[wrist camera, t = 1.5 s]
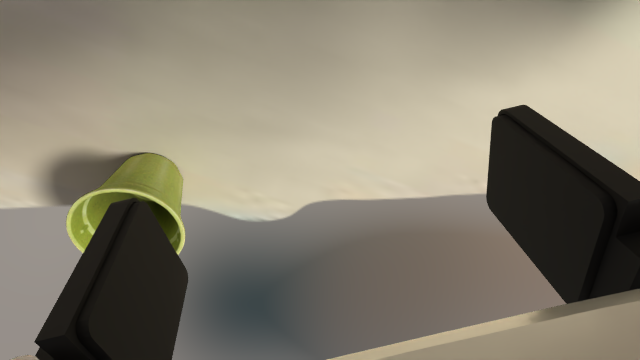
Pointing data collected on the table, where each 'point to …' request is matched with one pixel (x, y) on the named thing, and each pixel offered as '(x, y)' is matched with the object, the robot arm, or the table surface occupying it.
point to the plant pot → (133, 182)
